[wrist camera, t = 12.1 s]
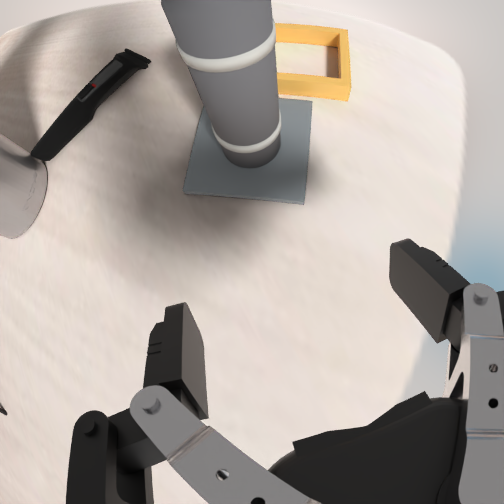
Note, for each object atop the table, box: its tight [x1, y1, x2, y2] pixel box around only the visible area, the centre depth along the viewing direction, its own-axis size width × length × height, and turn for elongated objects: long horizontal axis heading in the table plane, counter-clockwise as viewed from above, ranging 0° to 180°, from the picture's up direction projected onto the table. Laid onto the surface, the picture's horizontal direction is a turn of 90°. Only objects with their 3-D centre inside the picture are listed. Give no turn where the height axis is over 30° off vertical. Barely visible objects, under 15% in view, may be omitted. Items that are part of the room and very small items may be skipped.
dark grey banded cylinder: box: [161, 0, 281, 168], centre depth 16 cm, size 5×5×14 cm
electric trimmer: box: [31, 49, 151, 161], centre depth 25 cm, size 4×16×3 cm, turn 138°
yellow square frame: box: [275, 23, 351, 101], centre depth 23 cm, size 8×8×2 cm
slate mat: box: [183, 98, 312, 205], centre depth 23 cm, size 9×9×1 cm
